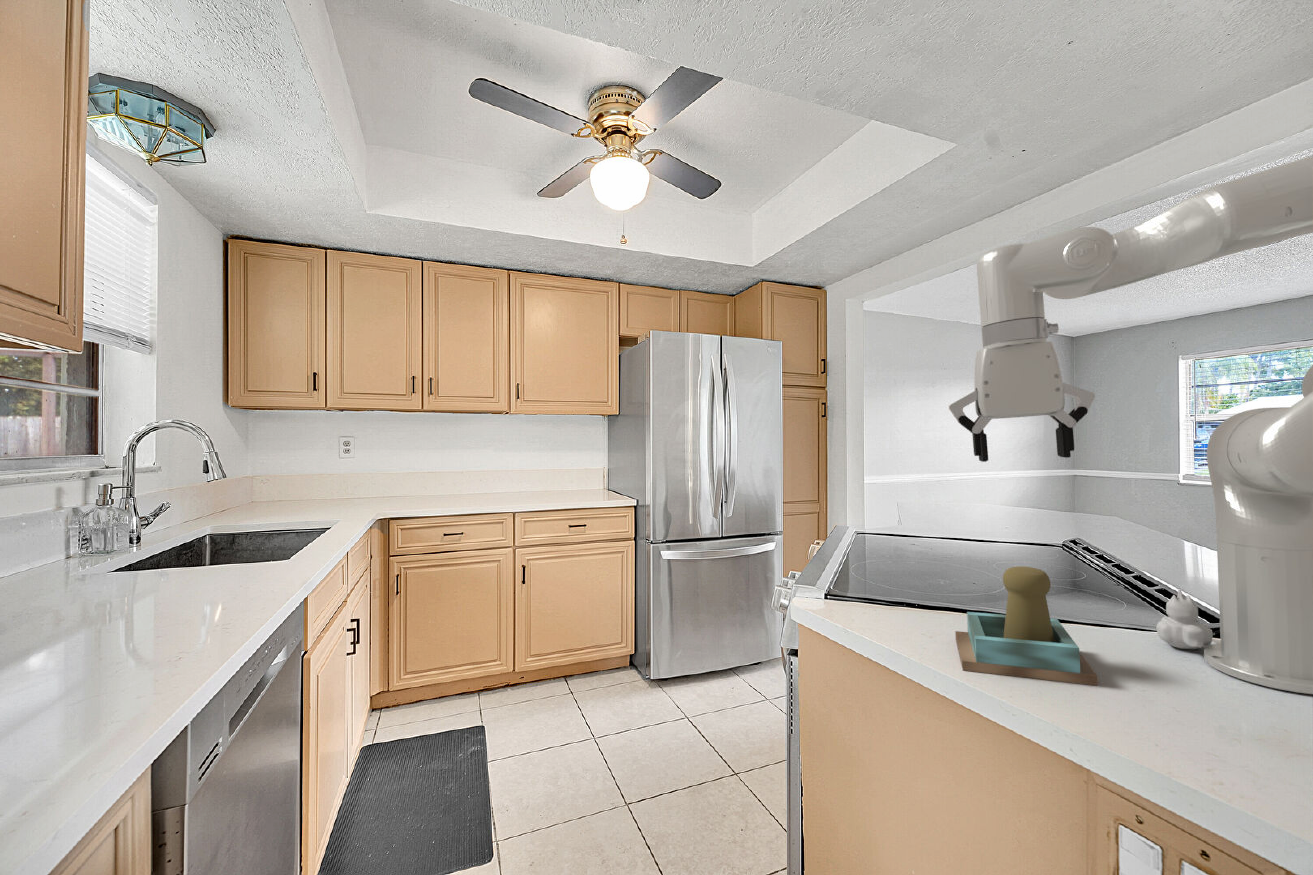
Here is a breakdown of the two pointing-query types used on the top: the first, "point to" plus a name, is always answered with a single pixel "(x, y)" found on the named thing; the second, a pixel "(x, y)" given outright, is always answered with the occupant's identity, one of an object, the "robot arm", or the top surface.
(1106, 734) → the top surface
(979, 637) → the board
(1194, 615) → the rubber duck
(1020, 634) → the cork
